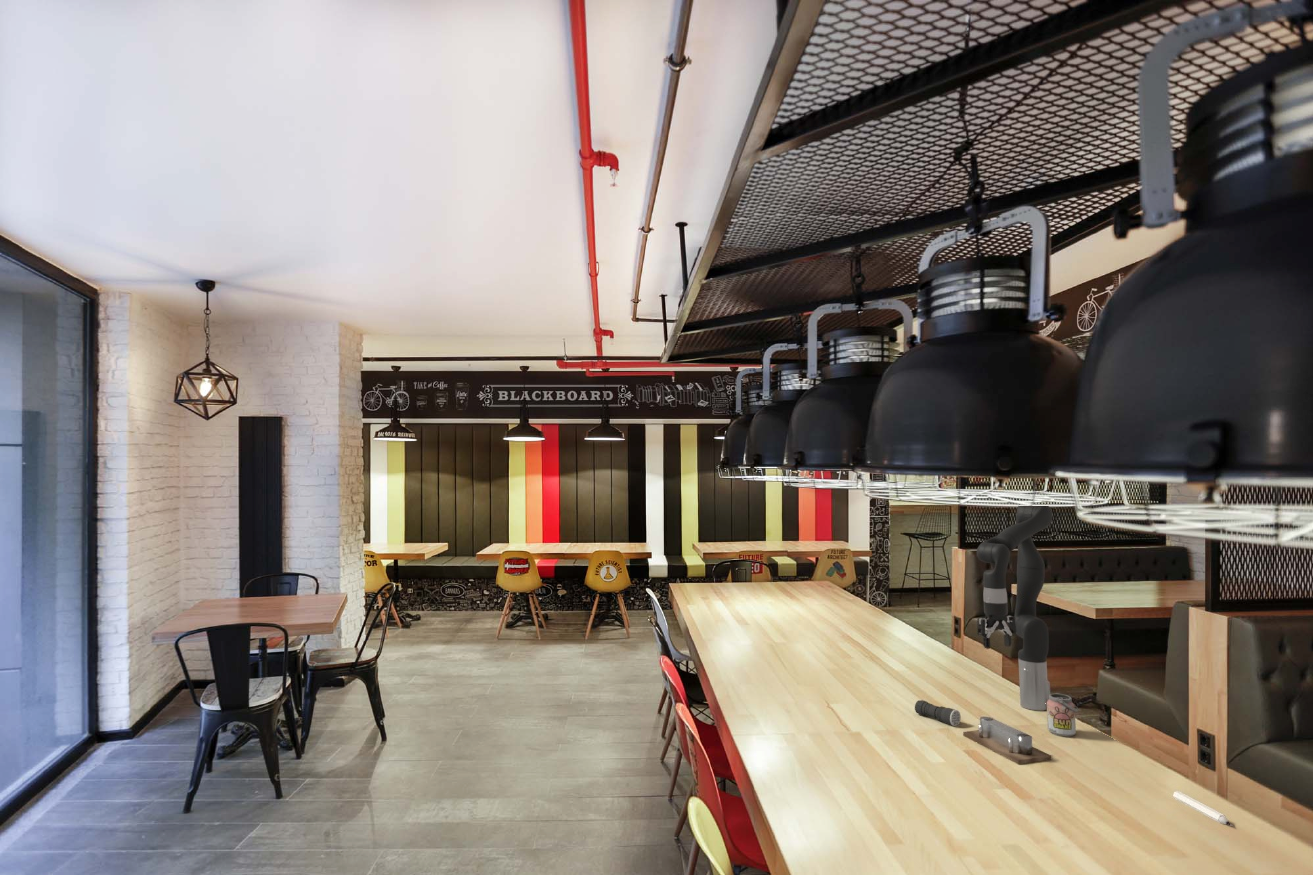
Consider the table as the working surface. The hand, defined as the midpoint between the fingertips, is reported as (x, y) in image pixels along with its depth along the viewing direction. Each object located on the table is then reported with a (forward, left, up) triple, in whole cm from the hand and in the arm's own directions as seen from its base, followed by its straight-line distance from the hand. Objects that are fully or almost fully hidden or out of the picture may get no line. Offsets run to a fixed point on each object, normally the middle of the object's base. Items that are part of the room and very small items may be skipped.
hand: (997, 647), depth 243 cm
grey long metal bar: (+14, +18, -25) cm, 34 cm away
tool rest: (+14, +18, -26) cm, 35 cm away
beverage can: (-13, +14, -26) cm, 32 cm away
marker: (-2, +68, -27) cm, 73 cm away
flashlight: (+18, -10, -27) cm, 34 cm away
